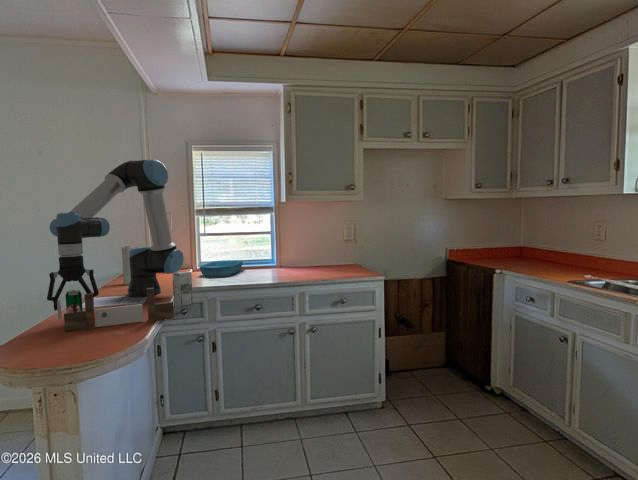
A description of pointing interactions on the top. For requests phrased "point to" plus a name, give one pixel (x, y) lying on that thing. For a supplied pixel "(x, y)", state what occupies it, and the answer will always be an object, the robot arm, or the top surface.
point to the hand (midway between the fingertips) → (75, 316)
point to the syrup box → (182, 288)
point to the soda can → (73, 301)
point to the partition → (87, 318)
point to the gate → (119, 315)
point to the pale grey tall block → (126, 264)
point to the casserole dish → (221, 268)
